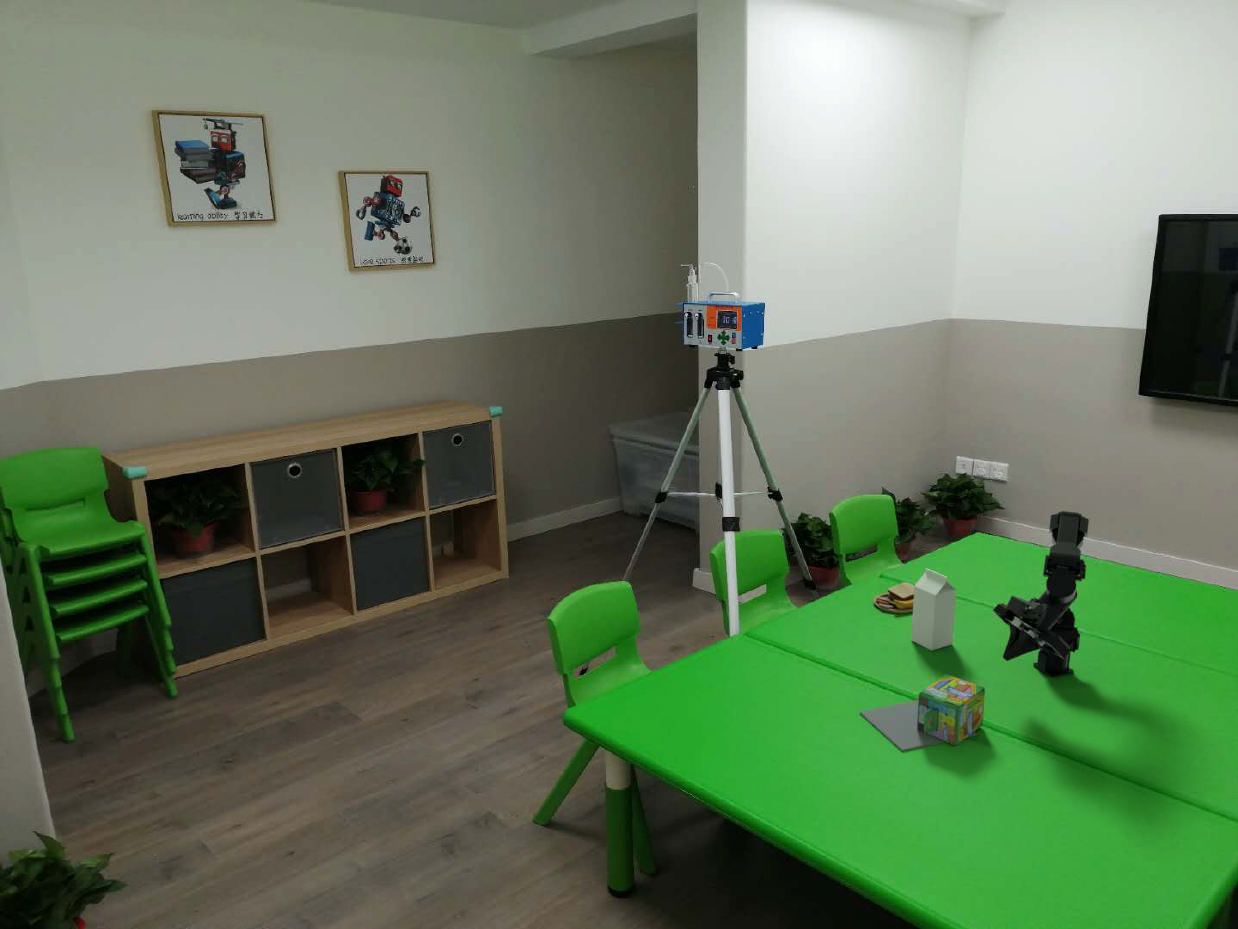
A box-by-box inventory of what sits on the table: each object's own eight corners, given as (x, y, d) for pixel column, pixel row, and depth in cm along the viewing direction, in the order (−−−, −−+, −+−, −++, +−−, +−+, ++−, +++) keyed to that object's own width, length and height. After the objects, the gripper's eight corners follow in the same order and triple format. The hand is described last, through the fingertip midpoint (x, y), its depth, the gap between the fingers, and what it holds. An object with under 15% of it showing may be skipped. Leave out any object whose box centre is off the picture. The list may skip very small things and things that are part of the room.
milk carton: (931, 651, 233) (936, 580, 228) (910, 640, 239) (915, 571, 234) (952, 645, 236) (957, 574, 231) (931, 634, 242) (936, 565, 237)
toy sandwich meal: (864, 600, 265) (865, 584, 264) (906, 594, 269) (907, 578, 267) (888, 617, 254) (889, 601, 252) (932, 611, 257) (933, 595, 256)
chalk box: (983, 725, 199) (949, 754, 189) (943, 710, 205) (908, 737, 195) (986, 686, 196) (951, 713, 186) (945, 672, 203) (909, 698, 193)
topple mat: (930, 699, 211) (930, 697, 210) (976, 735, 196) (976, 733, 196) (859, 713, 205) (859, 711, 205) (902, 751, 191) (902, 749, 191)
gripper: (1003, 569, 210) (957, 621, 210) (1063, 600, 193) (1013, 658, 193) (1029, 596, 214) (984, 648, 214) (1091, 630, 197) (1042, 686, 197)
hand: (1004, 659), depth 204 cm, fingers closed
